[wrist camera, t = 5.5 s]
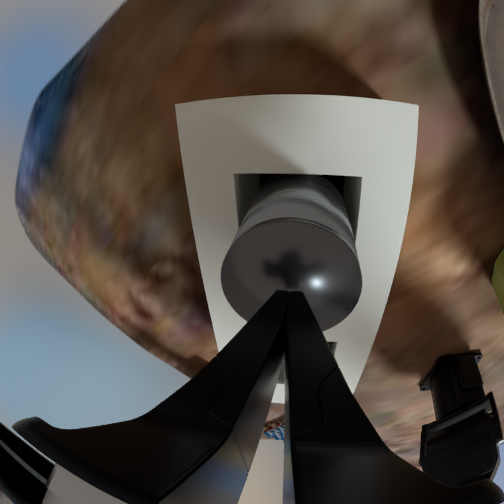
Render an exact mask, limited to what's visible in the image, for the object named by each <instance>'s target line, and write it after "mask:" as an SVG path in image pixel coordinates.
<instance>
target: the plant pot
mask: <svg viewBox="0 0 504 504" xmlns="http://www.w3.org/2000/svg"><path fill="white" fill-rule="evenodd" d="M491 280H492V285H493V288H494V290H495V293H496V295H497V298H498V300H499V303H500V305H501V308H502V311H503V313H504V249H503V250H502V251H501V253H500V254H499V256H498V257H497V259H496V261H495V264H494V272H493V276H492V279H491Z"/></svg>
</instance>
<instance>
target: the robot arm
mask: <svg viewBox="0 0 504 504" xmlns="http://www.w3.org/2000/svg"><path fill="white" fill-rule="evenodd" d="M284 353H285V356H284ZM482 357H483V355H482V353H481V352H479V353H471V354H462V355H452V356H442V357H440V358H439V359H438V360H437V361H436V363H435V365H434V366H433V368H432V369H431V371H430V372H429V374H428V376H427V377H426V379H425V380H424V382H423V383H422V384H421V386H420V391H428V390H431V393H432V398H433V404H434V410H435V416H436V421H434V422H432V423H429V424H425V425H422V432H421V446H420V458H419V466H421V467H422V469H423V472H422V471H421V470H419V469H417V468H416V467H414V466H413V465H411V464H409V463H408V462H406V461H405V460H403V459H402V458H400V457H399V456H397V455H396V454H395V453H393V452H392V451H391V450H390V449H389V448H388V447H387V446H386V445H385V443H384V442H383V441H382V439H381V438H380V436H379V435H378V433H377V432H376V430H375V428H374V427H373V425H372V424H371V422H370V421H369V419H368V418H367V416H366V415H365V413H364V411H363V410H362V408H361V407H360V405H359V404H358V402H357V400H356V399H355V397H354V395H353V394H352V392H351V390H350V388H349V386H348V384H347V382H346V380H345V378H344V376H343V374H342V372H341V370H340V368H338V367H339V366H338V363H337V361H336V359H335V357H334V355H333V353H332V351H331V349H330V346H329V344H328V342H327V340H326V338H325V336H324V334H323V332H322V330H321V328H320V325H319V323H318V321H317V319H316V317H315V315H314V313H313V311H312V309H311V307H310V305H309V303H308V301H307V299H306V297H305V295H304V293H303V292H302V291H290V292H289V291H287V290H276V291H275V292H274V293H273V294H272V296H271V297H270V298H269V299H268V300H267V301H266V302H265V303H264V304H263V306H262V307H261V308H260V309H259V310H258V311H257V312H256V313H255V314H254V315H253V317H252V318H251V319H250V320H249V321H248V322H247V323H246V324H245V325H244V326H243V327H242V328H241V330H240V331H239V332H238V333H237V334H236V335H235V336H234V337H233V338H232V339H231V340H230V341H229V342H228V343H227V344H226V345H225V347H224V348H223V349H222V350H221V351H220V352H219V353H218V354H217V355H216V357H214V358H213V359H212V360H211V361H210V362H209V363H208V364H207V365H206V366H205V367H204V368H203V369H202V370H201V371H200V372H199V373H198V374H197V375H196V376H194V377H193V378H192V379H191V380H190V381H189V382H187V383H186V384H185V385H184V386H182V387H181V388H180V389H179V390H177V391H176V392H175V393H173V394H172V395H171V396H169V397H168V398H167V399H166V400H164V401H163V402H161V403H160V404H159V405H157V406H156V407H155V408H153V409H152V410H151V411H149V412H148V413H146V414H144V415H142V416H140V417H138V418H135V419H132V420H129V421H124V422H118V423H112V424H107V425H101V426H94V427H88V428H80V429H60V428H56V427H53V426H51V425H49V424H48V423H47V422H45V421H44V420H42V419H40V418H39V417H31V418H26V419H22V420H20V421H18V422H16V423H15V424H14V425H13V426H12V428H13V429H14V430H15V431H16V432H17V433H18V434H19V435H20V436H22V437H23V438H24V439H25V440H26V441H28V442H29V443H30V444H31V445H33V446H34V447H35V448H36V449H38V450H39V451H40V452H42V453H43V454H44V455H46V456H47V457H48V458H50V459H51V460H53V461H54V462H55V464H54V463H52V462H51V461H49V460H48V459H47V458H45V457H44V456H43V455H41V454H40V453H39V452H37V451H36V450H35V449H34V448H32V447H31V446H30V445H28V444H27V443H26V442H24V441H23V440H22V439H21V438H19V437H18V436H17V435H15V433H13V432H12V431H11V430H9V429H8V428H7V427H6V426H5V425H3V424H2V423H1V422H0V504H237V503H238V501H239V498H240V495H241V493H242V490H243V487H244V484H245V481H246V479H247V476H248V472H249V470H250V467H251V464H252V461H253V458H254V455H255V452H256V449H257V446H258V443H259V440H260V437H261V434H262V431H263V428H264V425H265V421H266V418H267V415H268V411H269V408H270V405H271V401H272V398H273V395H274V391H275V388H276V384H277V381H278V377H279V373H280V370H281V366H282V362H283V358H284V382H285V418H284V479H283V480H284V481H283V504H500V503H502V502H504V493H503V491H502V489H500V487H499V486H497V485H496V484H495V483H494V482H493V479H494V477H495V475H496V472H497V470H498V467H499V465H500V454H499V447H498V446H499V445H501V444H503V443H504V439H503V433H502V427H501V422H500V418H499V414H498V410H497V406H496V402H495V399H494V396H493V393H492V391H491V392H489V393H488V394H487V395H486V396H485V393H484V390H483V386H482V385H483V381H482V378H481V375H480V371H479V368H478V365H477V364H478V363H479V361H480V360H481V358H482ZM491 410H492V412H491V413H488V412H489V411H491Z"/></svg>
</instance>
